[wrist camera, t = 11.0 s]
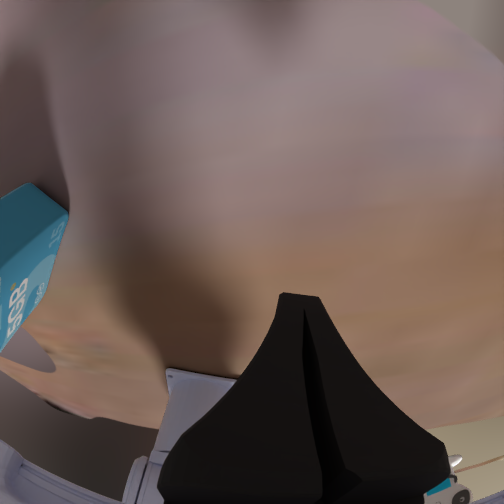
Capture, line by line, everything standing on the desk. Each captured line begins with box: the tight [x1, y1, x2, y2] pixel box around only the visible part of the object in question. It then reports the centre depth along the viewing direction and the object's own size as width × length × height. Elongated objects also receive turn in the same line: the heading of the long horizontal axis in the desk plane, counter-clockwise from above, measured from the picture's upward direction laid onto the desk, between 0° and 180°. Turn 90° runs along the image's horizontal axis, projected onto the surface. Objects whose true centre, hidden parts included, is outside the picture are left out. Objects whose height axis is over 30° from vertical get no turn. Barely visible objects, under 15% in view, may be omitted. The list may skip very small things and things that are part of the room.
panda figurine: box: [424, 455, 473, 504], centre depth 36 cm, size 12×11×15 cm
